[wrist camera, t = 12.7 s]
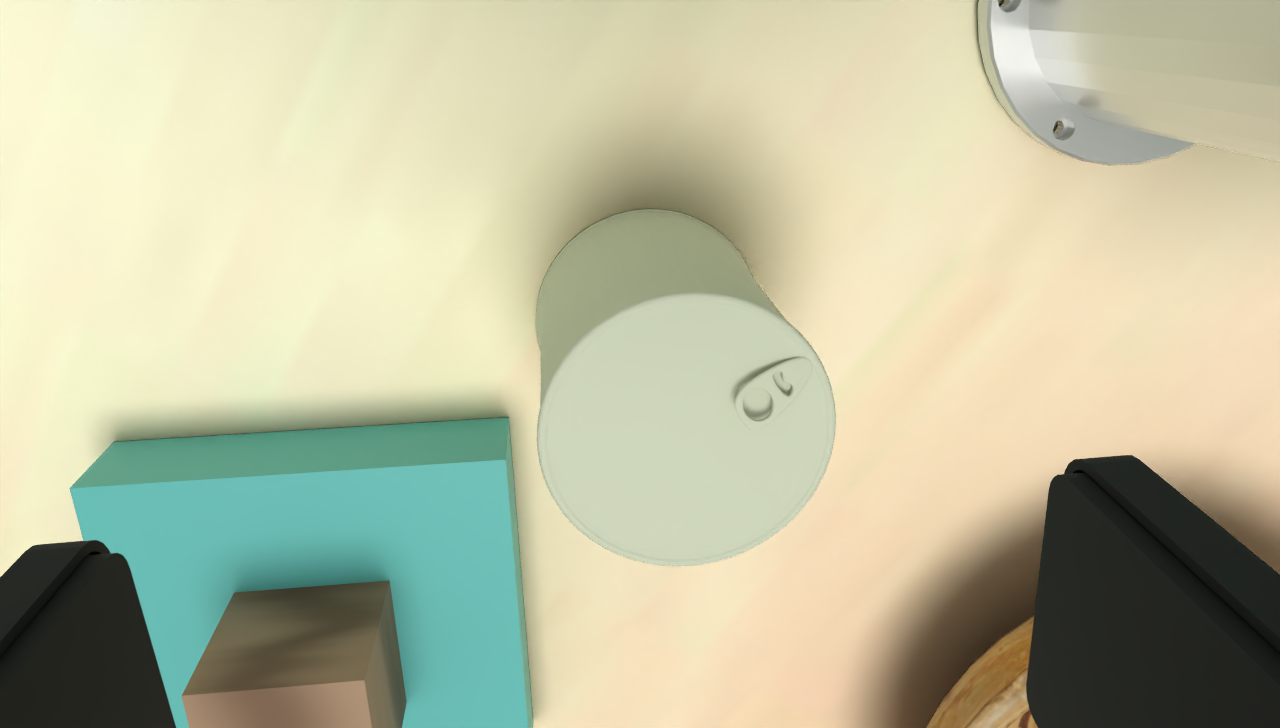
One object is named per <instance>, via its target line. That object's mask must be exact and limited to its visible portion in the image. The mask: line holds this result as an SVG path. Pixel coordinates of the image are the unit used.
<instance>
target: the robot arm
mask: <svg viewBox="0 0 1280 728" xmlns="http://www.w3.org/2000/svg"><path fill="white" fill-rule="evenodd" d="M978 31H979V44H980V49H981V53H982V58H983V62H984V67H985V71H986V74H987V76H988V79H989V81H990V83H991V85H992V88H993V90H994V92H995V94H996V97H997V99H998V100H999V102H1000V103H1001V105H1002V106H1003V107H1004V109H1005V110H1006V112H1007V113H1008V114H1009V116H1010V117H1011V118H1012V120H1013V121H1014V122H1015V123H1016V124H1017V125H1018V126H1019V127H1020V128H1021V129H1022V130H1024V131H1025V132H1026V133H1027V134H1028V135H1029V136H1030V137H1032V138H1033V139H1034V140H1035V141H1037V142H1039V143H1040V144H1042V145H1044V146H1046V147H1048V148H1050V149H1052V150H1053V151H1055V152H1057V153H1059V154H1063V155H1066V156H1069V157H1072V158H1075V159H1078V160H1081V161H1086V162H1092V163H1098V164H1104V165H1132V164H1142V163H1146V162H1150V161H1154V160H1158V159H1162V158H1167V157H1169V156H1172V155H1174V154H1176V153H1178V152H1181V151H1183V150H1185V149H1188V148H1190V147H1192V146H1194V145H1197V144H1199V145H1204V146H1208V147H1213V148H1217V149H1222V150H1226V151H1231V152H1235V153H1240V154H1244V155H1249V156H1253V157H1258V158H1262V159H1267V160H1271V161H1276V162H1280V0H1004V3H1003V4H1002V5H1001V6H999V3H998V0H979V3H978ZM1056 122H1058V127H1057V129H1056V130H1055V131H1054V132H1053V128H1054V125H1055V123H1056ZM1026 694H1027V701H1028V705H1029V709H1030V712H1031V715H1032V717H1033V719H1034V721H1035V723H1036V725H1037V727H1038V728H1280V575H1279V574H1278V573H1277V572H1276V571H1275V570H1273V569H1272V568H1271V567H1270V566H1268V565H1267V564H1266V563H1265V562H1264V561H1262V560H1261V559H1260V558H1259V557H1257V556H1256V555H1255V554H1254V553H1253V552H1251V551H1250V550H1249V549H1248V548H1246V547H1245V546H1244V545H1243V544H1242V543H1240V542H1239V541H1238V540H1237V539H1235V538H1234V537H1233V536H1232V535H1231V534H1229V533H1228V532H1227V531H1226V530H1225V529H1223V528H1222V527H1221V526H1220V525H1218V524H1217V523H1216V522H1215V521H1214V520H1212V519H1211V518H1210V517H1209V516H1207V515H1206V514H1205V513H1204V512H1203V511H1201V510H1200V509H1199V508H1198V507H1196V506H1195V505H1194V504H1193V503H1192V502H1190V501H1189V500H1188V499H1187V498H1185V497H1184V496H1183V495H1182V494H1181V493H1179V492H1178V491H1177V490H1176V489H1174V488H1173V487H1172V486H1171V485H1170V484H1168V483H1167V482H1166V481H1165V480H1163V479H1162V478H1161V477H1160V476H1159V475H1157V474H1156V473H1155V472H1154V471H1152V470H1151V469H1150V468H1149V467H1148V466H1146V465H1145V464H1144V463H1143V462H1142V461H1140V460H1139V459H1137V458H1135V457H1134V456H1132V455H1124V456H1112V457H1099V458H1087V459H1075V460H1073V461H1072V462H1070V463H1069V465H1068V466H1067V468H1066V470H1065V473H1064V474H1062V475H1057V476H1055V477H1054V478H1053V480H1052V481H1051V483H1050V488H1049V494H1048V502H1047V511H1046V519H1045V528H1044V536H1043V545H1042V553H1041V562H1040V570H1039V579H1038V587H1037V596H1036V605H1035V613H1034V622H1033V630H1032V639H1031V647H1030V656H1029V664H1028V673H1027V681H1026ZM0 728H176V725H175V722H174V718H173V715H172V711H171V708H170V704H169V701H168V697H167V694H166V690H165V687H164V684H163V680H162V677H161V673H160V670H159V666H158V663H157V659H156V656H155V653H154V649H153V646H152V642H151V639H150V635H149V632H148V628H147V625H146V622H145V618H144V615H143V611H142V608H141V604H140V601H139V597H138V594H137V591H136V587H135V584H134V580H133V577H132V573H131V570H130V567H129V564H128V562H127V560H126V559H125V557H124V556H123V555H121V554H119V553H110V551H109V549H108V548H107V547H106V546H105V544H104V543H102V542H100V541H98V540H89V541H77V542H65V543H53V544H41V545H34V546H32V547H31V548H29V549H28V550H27V551H25V552H24V553H23V554H22V555H21V557H20V558H19V559H18V560H17V561H16V562H15V563H14V564H13V565H12V566H11V567H10V568H9V569H8V570H7V571H6V572H5V573H4V574H3V575H2V576H1V577H0Z"/></svg>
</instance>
